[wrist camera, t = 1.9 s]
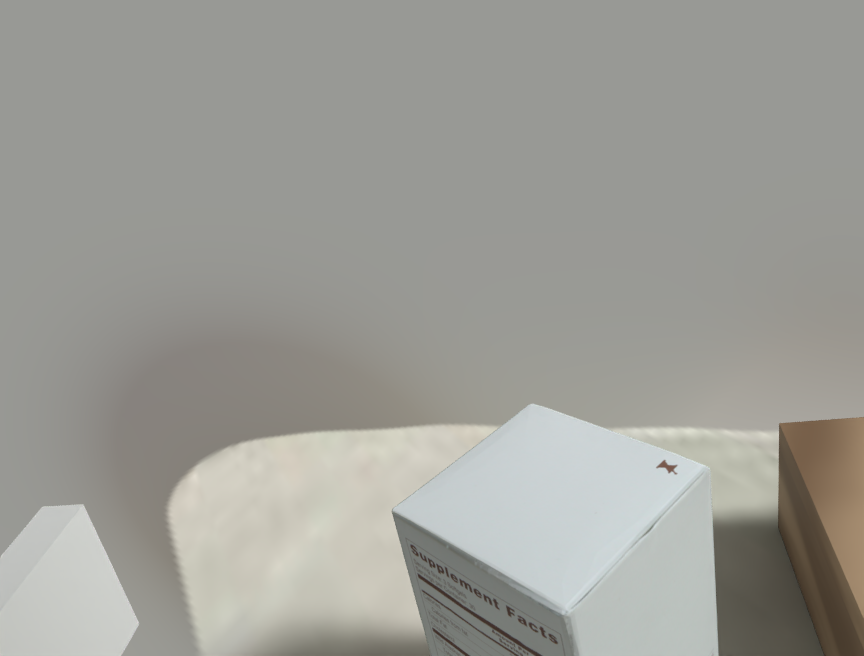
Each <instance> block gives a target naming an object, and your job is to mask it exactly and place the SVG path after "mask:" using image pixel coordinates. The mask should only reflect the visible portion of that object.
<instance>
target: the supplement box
mask: <svg viewBox="0 0 864 656" xmlns="http://www.w3.org/2000/svg"><path fill="white" fill-rule="evenodd" d="M392 514H393V518H394V521H395V525H396V529H397V532H398V536H399V539H400V543H401V547H402V551H403V555H404V558H405V562H406V566H407V569H408V573H409V576H410V580H411V584H412V588H413V592H414V595H415V599H416V602H417V606H418V610H419V613H420V617H421V620H422V624H423V627H424V631H425V635H426V639H427V643H428V646H429V650H430V654H431V656H719V654H718V633H717V608H716V586H715V563H714V541H713V517H712V494H711V473H710V468H709V467H707V466H705V465H702V464H700V463H697V462H695V461H692V460H690V459H687V458H685V457H683V456H680V455H678V454H675V453H672V452H670V451H667V450H664V449H661V448H659V447H656V446H653V445H650V444H647V443H645V442H642V441H639V440H636V439H633V438H630V437H628V436H625V435H622V434H619V433H616V432H613V431H610V430H608V429H605V428H602V427H599V426H597V425H594V424H591V423H588V422H585V421H583V420H580V419H577V418H574V417H571V416H568V415H565V414H563V413H560V412H557V411H555V410H552V409H549V408H546V407H543V406H539V405H536V404H529V405H528V406H527V407H525V408H524V409H523V410H521V411H520V412H519V413H517V414H516V415H515V416H514V417H512V418H511V419H510V420H509V421H507V422H506V423H505V424H503V425H502V426H501V427H500V428H498V429H497V430H496V431H494V432H493V433H492V434H490V435H489V436H488V437H487V438H485V439H484V440H483V441H481V442H480V443H479V444H477V445H476V446H475V447H473V448H472V449H471V450H469V451H468V452H467V453H466V454H464V455H463V456H462V457H460V458H459V459H458V460H456V461H455V462H454V463H452V464H451V465H450V466H449V467H447V468H446V469H445V470H443V471H442V472H441V473H439V474H438V475H437V476H435V477H434V478H433V479H432V480H430V481H429V482H428V483H426V484H425V485H424V486H422V487H421V488H420V489H418V490H417V491H416V492H414V493H413V494H412V495H410V496H409V497H408V498H406V499H405V500H404V501H402V502H401V503H400V504H398V505H397V506H396V507H394V508H393V509H392Z"/></svg>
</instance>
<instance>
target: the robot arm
mask: <svg viewBox="0 0 864 656" xmlns="http://www.w3.org/2000/svg"><path fill="white" fill-rule="evenodd" d="M138 625H139V622H138V620H137V618H136V616H135V614H134V612H133V610H132V607H131V606H130V603H129V601H128V599H127V597H126V595H125V592H124V590H123V588H122V586H121V584H120V582H119V580H118V578H117V575H116V573H115V571H114V569H113V567H112V565H111V563H110V560H109V558H108V556H107V554H106V552H105V550H104V548H103V545H102V543H101V541H100V539H99V537H98V535H97V533H96V531H95V529H94V526H93V524H92V522H91V520H90V518H89V516H88V513H87V511H86V509H85V507H84V505H82V504H81V505H64V506H48V507H42V508H41V509H40V510H39V512H38V513H37V514H36V515H35V516H34V518H33V519H32V520H31V521H30V522H29V523H28V525H27V526H26V527H25V529H23V531H22V532H21V533H20V534H19V535H18V536H17V538H16V539H15V540H14V541H13V542H12V544H11V545H10V546H9V547H8V548H7V550H6V551H5V552H4V553H3V554H2V556H1V557H0V656H121V655H122V653H123V651H124V649H125V648H126V646H127V644H128V643H129V641H130V639H131V637H132V636H133V634H134V632H135V630H136V629H137V627H138Z"/></svg>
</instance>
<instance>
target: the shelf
mask: <svg viewBox="0 0 864 656" xmlns="http://www.w3.org/2000/svg"><path fill="white" fill-rule="evenodd" d="M778 527H779V530H780V533H781V536H782V538H783V541H784V544H785V547H786V550H787V552H788V555H789V558H790V561H791V563H792V566H793V569H794V572H795V575H796V577H797V580H798V583H799V586H800V588H801V591H802V594H803V597H804V600H805V602H806V605H807V608H808V611H809V613H810V616H811V619H812V622H813V625H814V627H815V630H816V633H817V636H818V638H819V641H820V644H821V647H822V650H823V652H824V655H825V656H864V417H859V418H846V419H832V420H819V421H806V422H792V423H780V424H779V496H778Z"/></svg>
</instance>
